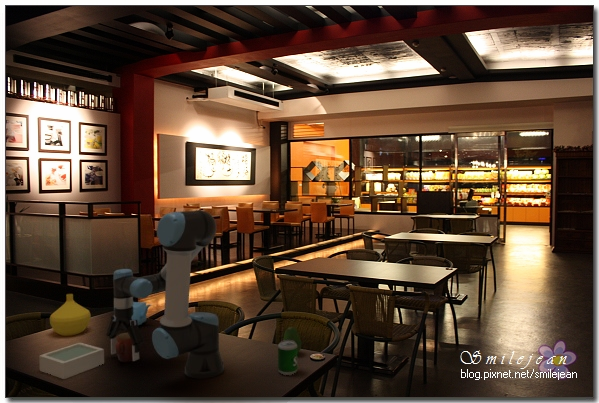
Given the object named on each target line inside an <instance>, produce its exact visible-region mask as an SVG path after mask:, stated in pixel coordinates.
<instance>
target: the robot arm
mask: <svg viewBox="0 0 599 403" xmlns="http://www.w3.org/2000/svg"><path fill="white" fill-rule="evenodd" d="M217 230H218V228H217V221H216V219H215V218H214V217H213V215H212V214H210V213H209V212H208V211H206V210H201V209H200V210H187V211H174V212H169V213H168V212H167V213H166V214H164V215H163V216H162V217H161V218H160V220H159V221H158V224H157V228H156V237H157V238H158V242H159V244H160V245H162V249H163V250H164V251H165V252H166V263H165V265H164V266H163V267H162V269H160V271H159V272H158V273H155V274H150V275H145V276H140V277H139V276H138V277H137V276H134V274H133V270H132V269H130V268H121V269H116V270H115V271H114V272H113V278H112V282H113V314H114V315H111V317H110V323H109V325H108V327H107V331H106V337H108V339H109V340H110V342H109V343H110V355H114V354H117V353H116V344H117V340H116V336H117V335H119V333H120V330H124V331H125V333H128V334H129V336H130V338H131V340H132V342H133V345H132V356H133V361H132V362H136V361H137V360H140V351H141V350H140V345H141V344H143V343H144V339H143V336H142V333H141V330H140V327H139V325H138V321H137V320H132V316H133V306H132V305H133V302H134V298H137V299H145V298H148V297H149V296H150V295H151V294H155V293H156V294H157V293H160V292H164V314H163V316H162V317H161V318H160V319H159V327H157V328H155V329H154V330H153V331H152V334H151V340H152V341H151V342H152V344H153V348H154V350H155V351H156V353H157V354H158V355H159V356H160V357H161V358H163V359H166V360H170V359H172V358H177V357H179V356H181V355H185V354H186V353H188V356H187V359H186V363H185V365H184V374H185V376H186V377H188V378H192V379H197V380H199V379H200V380H201V379H202V380H204V379H210V378H214V377H217V376H219V375H221V374H222V373H223V372H224V371H225V369H224V368H225V365H224V362H223V360H222V356H221V352H220V328H219V327H220V324H219V316H218V315H217V314H215V313H211V312H207V311H205V312H204V311H196V312H191V313H189V306H190V304H189V303H190V287H191V286H190V285H191V268H192V261H193V260H194V259H195V258H196V257H197V255H198V254H199V253H200V252H201V251H202V249H203V248H206V247H208V246H210V244H211V242H212V241H213V240H214V239H215V236H216V233H217ZM114 307H115V308H114Z"/></svg>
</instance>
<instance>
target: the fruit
mask: <svg viewBox="0 0 599 403" xmlns="http://www.w3.org/2000/svg"><path fill="white" fill-rule="evenodd" d="M284 340H292V341H294V342H295V343H296V344H297V354H299V352H300V351H301V349H302V341H301V337H300V335H299V332H298V330H297V328H295V327H294V326H289V327H287V329H285V331H284V334H283V340H282V341H284Z"/></svg>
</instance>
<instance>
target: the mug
mask: <svg viewBox="0 0 599 403" xmlns="http://www.w3.org/2000/svg"><path fill="white" fill-rule="evenodd" d="M115 338H116V340H117V344H116V353H115V354H116V356H117V359H118V361H119V362H121V363H129V362H130V363H131V362H134V361H133V356H132V345H133V342H132V340H131V338H130V336H129V334H128V332H123V333H118V334H117V336H116V337H115Z"/></svg>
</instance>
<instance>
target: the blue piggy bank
mask: <svg viewBox="0 0 599 403" xmlns="http://www.w3.org/2000/svg"><path fill="white" fill-rule="evenodd" d="M132 306H133V316H132V320H137V321H138V326H140V325H143V323H145V322H146V321H147V316H148V315H147V314H148V310H149V307H151V306H152V304H147V302H142V301H139V302H138V301H133V305H132ZM114 308H115V307H114V306H113V309H114Z"/></svg>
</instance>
